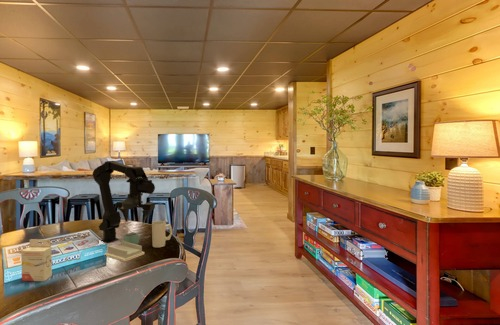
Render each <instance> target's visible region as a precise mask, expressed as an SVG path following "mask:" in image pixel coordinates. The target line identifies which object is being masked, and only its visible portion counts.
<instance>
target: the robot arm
mask: <svg viewBox="0 0 500 325" xmlns="http://www.w3.org/2000/svg"><path fill="white" fill-rule="evenodd" d="M114 171H115V172H117V173H118V172H119V173H122V174H124V176H125V177H127V178H128V179H126V183H129V193H128V194H127V198H125V199H124V200H119V201H116V202H115V204H114V200H113V197H112V191H111V186H110V181H111V179H112V174H113V173H114ZM92 176H93V179H94V181H95V183H96V184H97V185H98V188H99V192H100V197H101V201H102V207H103V211H104V212H103V214H102V218H101V219H102V221H101V223H100V224H99V225H98V229H99V231H102V237H103V238H102V239H103V240H104V241H105V242H104V241H103V242H104V243H110V242H114V241H118V240H119V237H117V231H116V229H118V228H120V224H121V222H122V220H121V219H122V217H121V214H120V212H121V213H122V215H123V218H124V222H128V221H129V212H130V211H129V210H133V209H134V208H140V209H142V210H141V213H142V219H141V220H142V221H141V222H142V224H144V223H145V222H146V219H147V218H148V216H149V214H150V211H153V210H154V209H156V205H155V203H154V202H145V203H143V200H142V196H143V194H147V195H152V194H153V193H154V192H155V189H156V186H155V184H154V183H153V180H152V179H149V178H148V176H147V174H146V173H145V171H144V168H143V167H142V166H137V165H136V166H134V165H133V166H131V165H127V164H123V163H120V162H117V161H115V160H107V161H105V162H103V163H102V164H101V165H99V166H97V167H96V168H94V169H93V171H92ZM115 208H116V209H117V210H118V211H117V210H116V209H115Z"/></svg>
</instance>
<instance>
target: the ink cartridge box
mask: <svg viewBox="0 0 500 325" xmlns="http://www.w3.org/2000/svg"><path fill="white" fill-rule="evenodd" d="M40 242H41V243H40ZM51 246H52V245H51V239H46V238H45V239H44V238H41V239H40V238H35V239H34V238H33V239H32V238H30V239H29V246H28V247H27V248H24V249H22V250H21V253H20V254H21V256H20V257H21V282H45V281H46V280H48V279H50V278H51V277H52V275H53V269H52V266H53V265H52V247H51Z"/></svg>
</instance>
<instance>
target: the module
mask: <svg viewBox="0 0 500 325" xmlns="http://www.w3.org/2000/svg"><path fill="white" fill-rule="evenodd" d="M123 241H125V242H129V243H133V244H137V245H139V243H140V242H139V233H137V232H133V231H132V232H129V233H126V234H125V235H123Z"/></svg>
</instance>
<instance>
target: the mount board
mask: <svg viewBox="0 0 500 325" xmlns="http://www.w3.org/2000/svg"><path fill="white" fill-rule="evenodd" d="M106 248H107V252H105V253H104V256H105V255H106V256H105V257H107V256H108V258H111V259H113V260H117V261H122V262H125V263H126V262H128V261H131V260H132V259H136V258H137V257H140V256H143V255H145V251H143V246H142V245H140V244H133V243H129V242H125V241H124V240H122V242H121V245H119V246H111V245H107V246H106Z"/></svg>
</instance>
